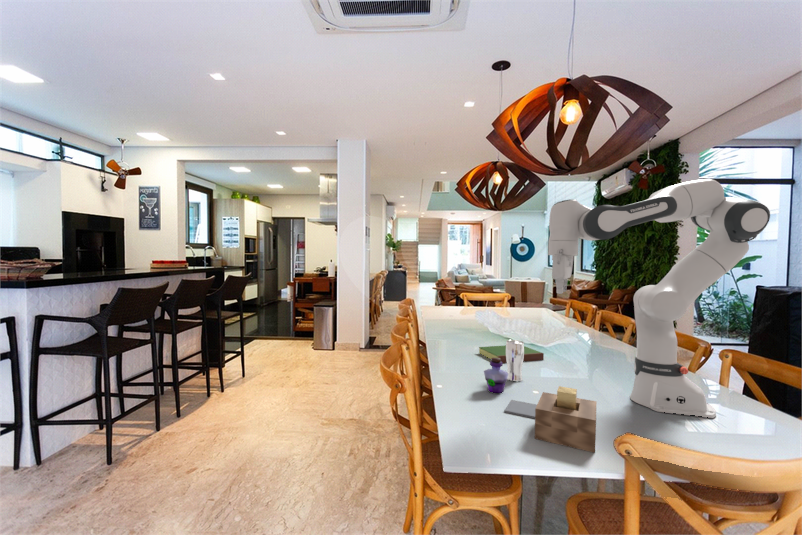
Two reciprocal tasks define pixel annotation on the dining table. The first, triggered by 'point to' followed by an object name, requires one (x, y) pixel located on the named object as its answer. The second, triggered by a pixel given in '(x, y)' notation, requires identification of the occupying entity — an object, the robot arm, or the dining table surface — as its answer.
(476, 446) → the dining table surface
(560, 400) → the tan wooden block
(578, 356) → the dining table surface
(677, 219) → the robot arm
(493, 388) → the potion bottle
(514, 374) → the beer glass
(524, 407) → the slate pad
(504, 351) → the hardcover book
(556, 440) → the wooden slotted box
